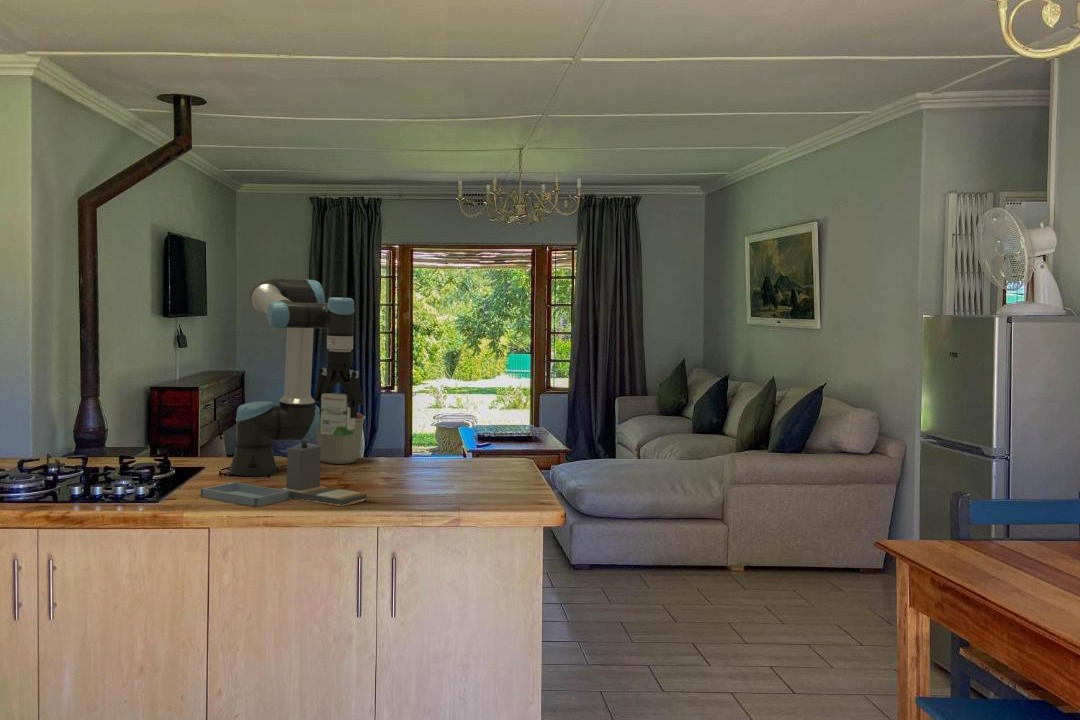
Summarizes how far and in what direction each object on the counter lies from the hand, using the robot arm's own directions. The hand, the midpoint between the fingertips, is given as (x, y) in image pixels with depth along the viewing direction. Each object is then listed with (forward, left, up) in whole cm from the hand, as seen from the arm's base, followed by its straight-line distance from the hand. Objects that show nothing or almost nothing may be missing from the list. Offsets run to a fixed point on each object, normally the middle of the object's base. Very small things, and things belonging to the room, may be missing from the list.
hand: (337, 427), depth 299 cm
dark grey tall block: (-13, +1, -19) cm, 23 cm away
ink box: (0, 0, -2) cm, 2 cm away
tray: (-23, -13, -22) cm, 34 cm away
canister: (-43, +54, -22) cm, 72 cm away
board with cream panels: (-6, +1, -22) cm, 22 cm away
